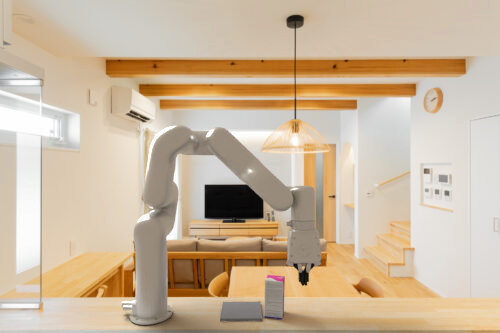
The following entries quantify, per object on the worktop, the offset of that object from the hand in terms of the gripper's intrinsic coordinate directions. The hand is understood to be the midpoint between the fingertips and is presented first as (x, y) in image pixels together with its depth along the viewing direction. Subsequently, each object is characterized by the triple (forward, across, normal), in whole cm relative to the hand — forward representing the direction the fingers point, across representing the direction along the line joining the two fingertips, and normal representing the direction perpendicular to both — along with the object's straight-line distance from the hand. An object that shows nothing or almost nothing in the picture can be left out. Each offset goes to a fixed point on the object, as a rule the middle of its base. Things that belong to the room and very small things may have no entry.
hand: (303, 284), depth 97 cm
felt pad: (+9, -20, +2) cm, 22 cm away
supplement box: (+10, -9, 0) cm, 13 cm away
